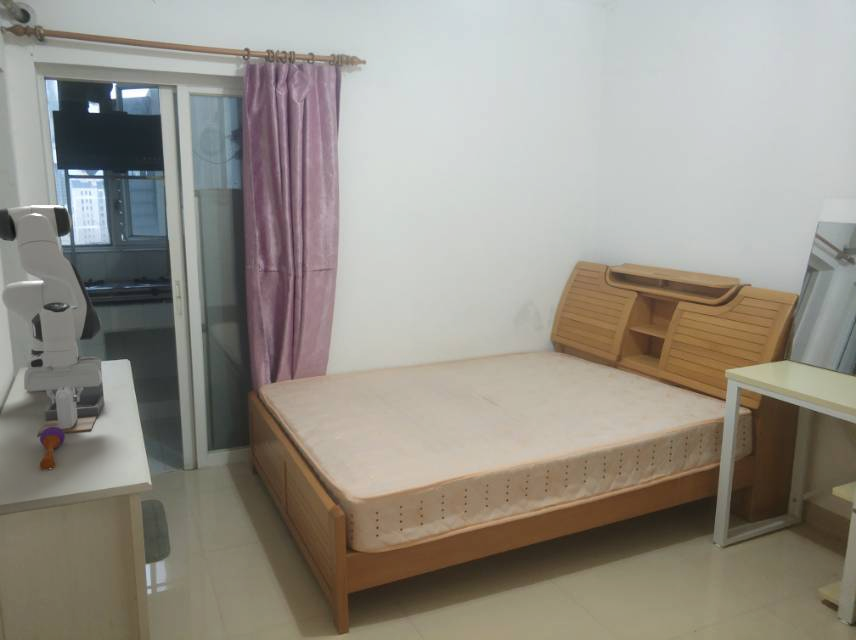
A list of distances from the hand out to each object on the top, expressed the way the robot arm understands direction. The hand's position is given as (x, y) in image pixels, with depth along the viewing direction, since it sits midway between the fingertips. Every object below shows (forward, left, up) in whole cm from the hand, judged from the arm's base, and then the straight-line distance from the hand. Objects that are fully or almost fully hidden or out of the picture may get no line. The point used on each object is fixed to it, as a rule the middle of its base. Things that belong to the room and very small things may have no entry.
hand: (66, 402), depth 194 cm
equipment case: (-15, 0, -8) cm, 17 cm away
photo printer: (0, 0, -7) cm, 7 cm away
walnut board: (0, 0, -8) cm, 8 cm away
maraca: (+24, 0, -8) cm, 25 cm away
